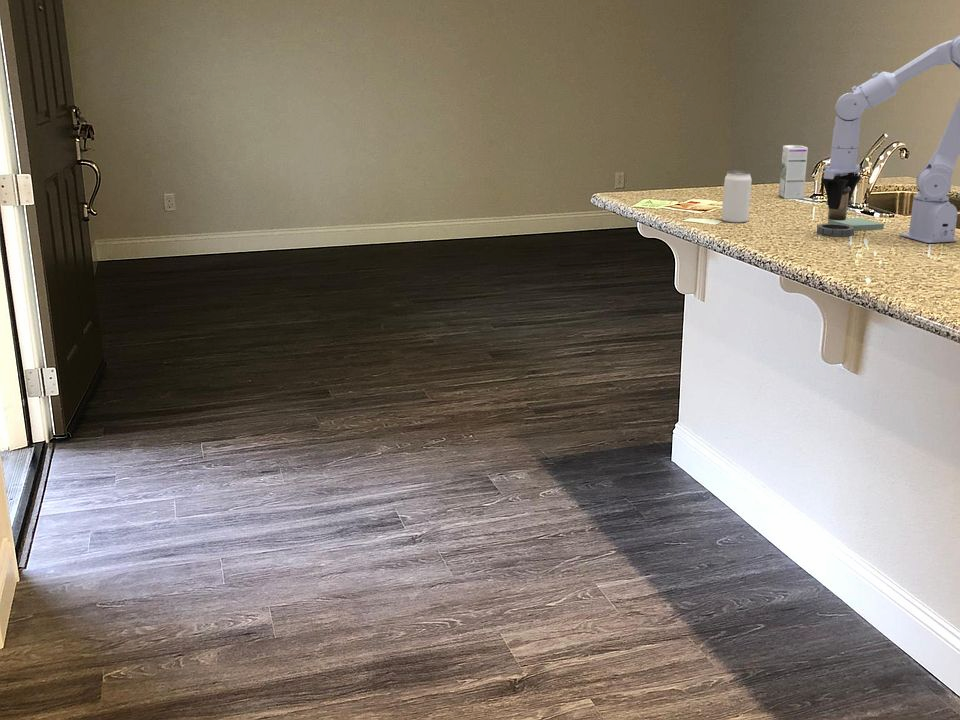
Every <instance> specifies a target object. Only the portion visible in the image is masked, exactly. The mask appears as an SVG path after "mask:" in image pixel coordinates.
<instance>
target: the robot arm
mask: <svg viewBox="0 0 960 720" xmlns="http://www.w3.org/2000/svg"><path fill="white" fill-rule="evenodd" d="M952 63H953V65H954V66H956V67H957V68H958V69H959V70H960V34H959V35H957V36H955V37H954V38H953V39H952V40H951V39H949V40H946V41H945V42H942V43H940V44H937V45H935V46H933V47H932V48H930V49H928V50H927V51H925V52H924V53H922V54H920V55H919V56H917V57H916V58H914V59H912V60H911V61H909V62H908V63H906V64H904V65H903V66H901V67H900V68H898V69H897V70H894V71H893V72H888V71H881V72H880V73H878V72H875V73H873V74H872V75H871V78H870V79H868V80H867V81H865V82H863V83H861V84H860V85H858V86H856V85H853V86H852V87H851V90H852V92H847V93H844V94H842V95H841V96H839V97H838V99H837V101H836V104H835V105H834V108H835V109H834V110H835V112H836V114H837V115H836V117H835V119H834V124H835V125H834V127H833V131H832V132H833V133H832V140H831V150H830V159H829V161H830V162H829V165H825V166H824V172H823V176H821V183H822V184H823V187H824V189H825V195H826V200H827V207H828V210H829V209H839V206H840V202H841V198H842V194H843V191H844V188H845V186H847V187H851V191H850V192H849V198H848V205H850V201H851V199H852V195H853V193H854V191H855V188H856V186H857V185H858V183H859V182H860V180H862V179H861V178H862V175H860V174H859V173H860V170H861V164H857V163H858V153H859V146H860V137H861V129H862V127H861V118H862V115H863V114H864V111H865V110H872V109H873V108H875V107H876V106H878V105H879V104H881V103H883V102H885V101H887V100H888V99H890V98H892V97H893V96H895V95H897V93H898V89H899V86H900V85H902V84H905V83H906V82H908V81H910V80H911V79H914V78H915V77H918V76H919V75H921V74H922V73H924V72H926V71H928V70H930V69H931V68H934V67H936V66H944V65H945V66H946V65H952ZM959 155H960V97H959V98H958V101H957V103H956V105H955V108H954V110H953V111H952V113H951V116H950V118H949V121H948V122H947V125H946V127H945V129H944V132H943V133H942V136H941V138H940V140H939V142H938V145H937V146H936V149H935V151H934V153H933V155H932V156H931V157H930V158H929V160H928V162H927V165H925V167H924V168H923V169H922V170H921V171H920V172H918V174H917V175H916V181H915V184H916V187H917V189H918V190H919V191H918V192H917V193H916V194H915V195H913V199H912V200H913V201H912V208H911V214H910V215H911V216H910V221H909V227H908V228H909V229H908V232H902V233H899V236H900V237H904V238H907V239H911V240H915V241H919V242H922V243H926V244H934V243H947V242H948V243H949V242H957V238H955V235H956V234H955V233H956V228H957V223H958V222H957V221H958V213H959V212H958V209H957V207H956V206H955V205H954V204H953V203H951V202H950V197H949V195H948V194H949V192H950V191H951V189H952V176H953V173H954V171H955V169H956V164H957V160H958V158H959ZM858 174H859V175H858Z"/></svg>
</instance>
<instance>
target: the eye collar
mask: <svg viewBox="0 0 960 720" xmlns="http://www.w3.org/2000/svg"><path fill="white" fill-rule="evenodd" d="M816 233H817V234H819V235H821V236H822V235H823V236H828V237H838V238H839V237H843V238H844V237H852V236H854V235H855V231H854V227H852V226H849V225H842V224H828V223H820V224H817V225H816Z"/></svg>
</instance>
